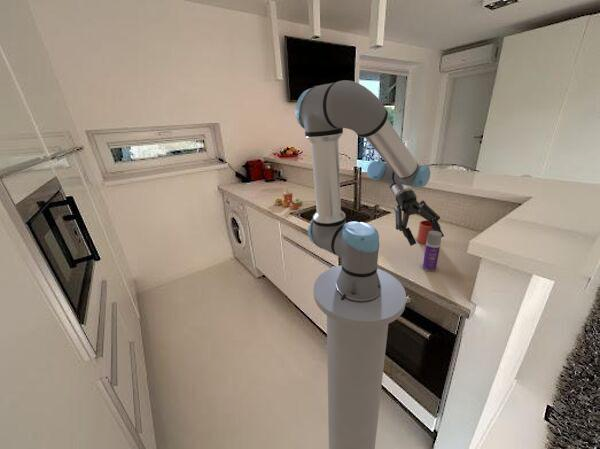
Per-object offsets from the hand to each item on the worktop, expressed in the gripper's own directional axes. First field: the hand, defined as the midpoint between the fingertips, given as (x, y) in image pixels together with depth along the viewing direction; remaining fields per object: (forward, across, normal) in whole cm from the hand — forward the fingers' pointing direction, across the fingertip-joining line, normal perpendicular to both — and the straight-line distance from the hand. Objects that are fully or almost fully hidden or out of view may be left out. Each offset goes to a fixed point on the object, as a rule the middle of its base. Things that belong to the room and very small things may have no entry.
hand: (427, 241), depth 94 cm
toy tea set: (-65, +23, -80) cm, 105 cm away
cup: (-3, -17, -18) cm, 25 cm away
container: (+10, 0, -6) cm, 11 cm away
